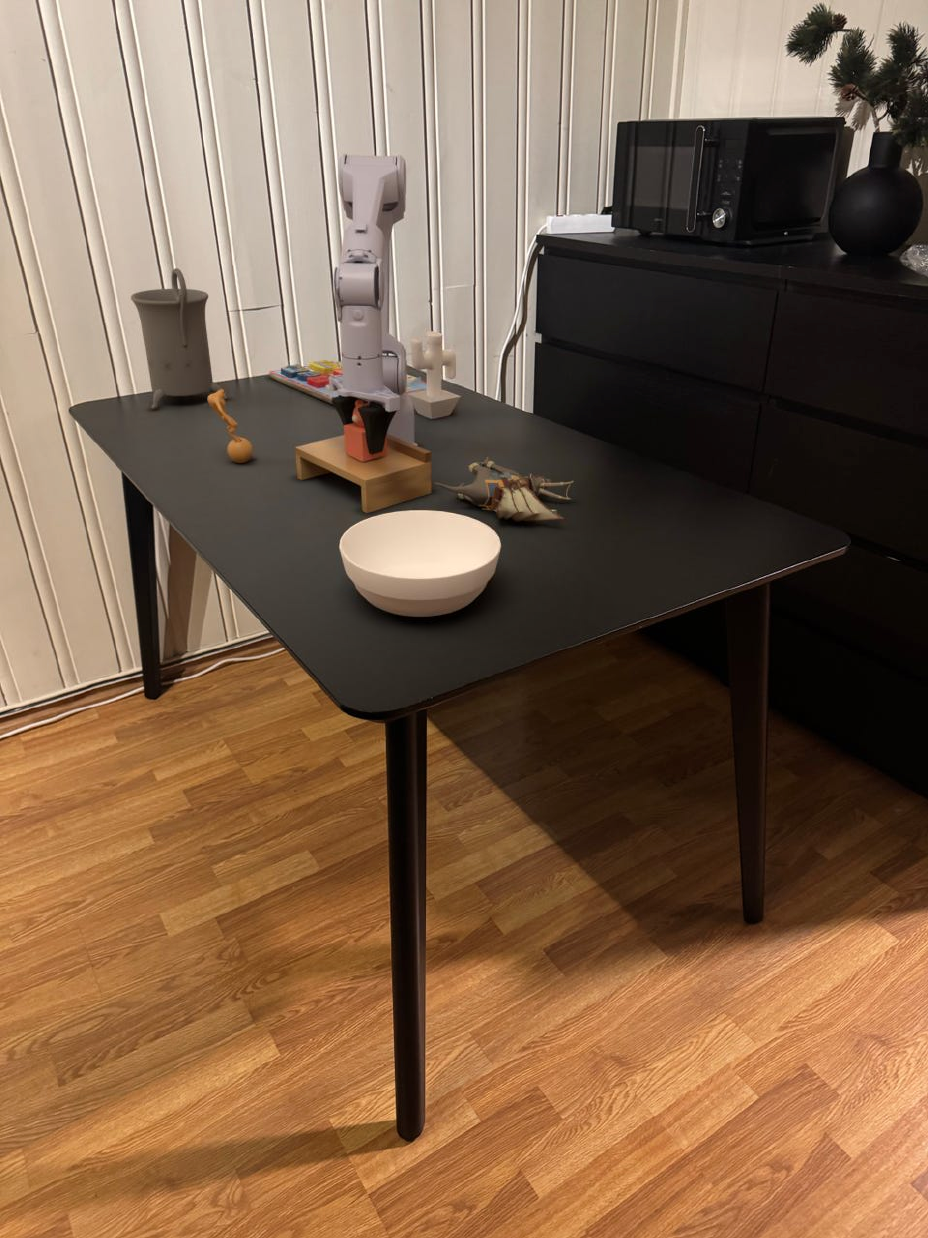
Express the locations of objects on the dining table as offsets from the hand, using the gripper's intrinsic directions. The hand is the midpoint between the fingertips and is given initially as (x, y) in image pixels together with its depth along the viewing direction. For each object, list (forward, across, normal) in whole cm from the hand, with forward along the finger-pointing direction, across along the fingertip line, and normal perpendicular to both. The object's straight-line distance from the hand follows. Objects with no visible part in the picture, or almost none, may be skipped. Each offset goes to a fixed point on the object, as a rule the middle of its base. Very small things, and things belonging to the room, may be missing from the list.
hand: (365, 448), depth 128 cm
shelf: (+6, -1, 0) cm, 6 cm away
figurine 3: (+6, +21, +10) cm, 24 cm away
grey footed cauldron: (+6, -59, 0) cm, 59 cm away
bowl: (+6, +32, -16) cm, 36 cm away
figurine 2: (+6, -22, +32) cm, 39 cm away
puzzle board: (+6, -48, +32) cm, 58 cm away
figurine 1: (+6, -22, -10) cm, 25 cm away
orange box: (+1, 0, 0) cm, 1 cm away
